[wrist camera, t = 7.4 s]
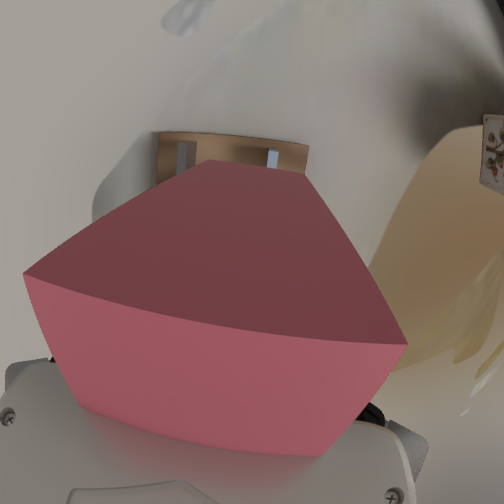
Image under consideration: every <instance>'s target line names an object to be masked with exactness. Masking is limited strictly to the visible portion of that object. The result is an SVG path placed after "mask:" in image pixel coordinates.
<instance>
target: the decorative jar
mask: <svg viewBox="0 0 504 504" xmlns="http://www.w3.org/2000/svg"><path fill="white" fill-rule="evenodd" d="M480 184H482V185H484V186H485V187H487V188H489V189H492V190H493V191H496V192H498V193H500V194H502V195H504V115H494V114H484V115H483V142H482V162H481V173H480Z"/></svg>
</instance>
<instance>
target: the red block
mask: <svg viewBox="0 0 504 504" xmlns="http://www.w3.org/2000/svg"><path fill="white" fill-rule="evenodd" d="M23 277H24V281H25V284H26V288H27V291H28V294H29V297H30V300H31V303H32V306H33V309H34V312H35V315H36V317H37V320H38V322H39V325H40V328H41V330H42V333H43V335H44V337H45V340H46V342H47V344H48V347H49V349H50V351H51V353H52V355H53V357H54V360H55V362H56V364H57V366H58V368H59V370H60V372H61V374H62V375H63V377H64V379H65V381H66V383H67V385H68V387H69V388H70V390H71V392H72V394H73V395H74V397H75V399H76V400H77V402H78V404H79V405H80V406H81V407H83V408H85V409H88V410H90V411H92V412H95V413H97V414H99V415H102V416H105V417H107V418H110V419H112V420H115V421H118V422H120V423H123V424H126V425H129V426H132V427H135V428H138V429H141V430H144V431H148V432H151V433H154V434H158V435H161V436H165V437H169V438H173V439H177V440H181V441H185V442H190V443H195V444H199V445H204V446H210V447H215V448H221V449H228V450H234V451H242V452H251V453H261V454H274V455H292V456H322V455H323V454H324V453H325V452H326V451H327V450H328V449H329V448H330V447H331V446H332V445H333V444H334V443H335V441H336V440H337V439H338V438H339V437H340V436H341V435H342V434H343V433H344V432H345V431H346V429H347V428H348V427H349V426H350V425H351V424H352V422H353V421H354V420H355V419H356V418H357V417H358V415H359V414H360V413H361V412H362V410H363V409H364V408H365V407H366V405H367V404H368V403H369V402H370V400H371V399H372V398H373V396H374V395H375V394H376V392H377V391H378V390H379V388H380V387H381V386H382V384H383V383H384V381H385V380H386V378H387V377H388V376H389V374H390V373H391V371H392V370H393V368H394V367H395V365H396V364H397V362H398V361H399V359H400V358H401V356H402V354H403V353H404V351H405V350H406V348H407V346H408V343H407V341H406V339H405V337H404V335H403V333H402V331H401V329H400V327H399V325H398V323H397V321H396V319H395V317H394V316H393V313H392V312H391V310H390V308H389V306H388V304H387V302H386V300H385V299H384V297H383V295H382V293H381V292H380V290H379V288H378V286H377V284H376V283H375V281H374V279H373V278H372V276H371V274H370V272H369V271H368V269H367V267H366V266H365V264H364V262H363V261H362V259H361V257H360V256H359V254H358V253H357V251H356V249H355V248H354V246H353V245H352V243H351V241H350V240H349V238H348V237H347V235H346V234H345V232H344V231H343V229H342V227H341V226H340V224H339V223H338V221H337V220H336V218H335V217H334V215H333V214H332V213H331V211H330V210H329V208H328V207H327V205H326V204H325V202H324V201H323V199H322V198H321V197H320V195H319V194H318V192H317V191H316V190H315V188H314V187H313V185H312V184H311V183H310V181H309V180H308V178H307V177H306V176H305V174H303V173H297V172H292V171H286V170H280V169H274V168H268V167H262V166H255V165H248V164H241V163H234V162H226V161H217V160H209V159H208V160H206V161H204V162H202V163H200V164H198V165H196V166H194V167H192V168H189V169H187V170H185V171H183V172H181V173H179V174H177V175H175V176H174V177H172V178H170V179H168V180H166V181H164V182H162V183H160V184H158V185H156V186H155V187H153V188H151V189H149V190H147V191H145V192H144V193H142V194H140V195H138V196H137V197H135V198H133V199H131V200H130V201H128V202H126V203H124V204H123V205H121V206H119V207H118V208H116V209H114V210H113V211H111V212H109V213H108V214H106V215H105V216H103V217H101V218H100V219H98V220H97V221H95V222H94V223H92V224H90V225H89V226H87V227H86V228H84V229H83V230H82V231H80V232H78V233H77V234H75V235H74V236H72V237H71V238H70V239H68V240H67V241H65V242H64V243H62V244H61V245H60V246H58V247H57V248H55V249H54V250H53V251H51V252H50V253H49V254H47V255H46V256H44V257H43V258H42V259H41V260H39V261H38V262H37V263H35V264H34V265H33V266H32V267H30V268H29V269H28V270H26V271H25V272H24V273H23Z"/></svg>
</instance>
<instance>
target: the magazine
mask: <svg viewBox="0 0 504 504" xmlns="http://www.w3.org/2000/svg"><path fill="white" fill-rule="evenodd" d="M498 1H499V4H500V7H501V10H502V12H503V15H504V0H498Z"/></svg>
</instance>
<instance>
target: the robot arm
mask: <svg viewBox="0 0 504 504" xmlns="http://www.w3.org/2000/svg"><path fill="white" fill-rule="evenodd" d="M428 447H429V446H428V442H427V441H426V439H425V438H423V437H422V436H420V435H418V434H416V433H415V432H413V431H411V430H409V429H407V428H405V427H403V426H401V425H399V424H398V423H396V422H394V421H392V420H390V421H389V422H388V421H386V420H385V418H384V414H383V413H382V411H381V410H380V409H378V408H377V407H376V406H374V405H373V404H372V403H370V402H369V403H368V404H367V405H366V407H365V408H364V409H363V410H362V412H361V413H360V414H359V415H358V417H357V418H356V419H355V420H354V421H353V422H352V424H351V425H350V426H349V427H348V428H347V429H346V431H345V432H344V433H343V434H342V435H341V436H340V437H339V438H338V439H337V440H336V441H335V443H334V444H333V445H332V446H331V447H330V448H329V449H328V450H327V451H326V452H325V453H324V454H323V455H322V456H292V455H274V454H261V453H251V452H242V451H234V450H228V449H221V448H215V447H210V446H204V445H199V444H195V443H190V442H185V441H181V440H177V439H173V438H169V437H165V436H161V435H158V434H154V433H151V432H148V431H144V430H141V429H138V428H135V427H132V426H129V425H126V424H123V423H120V422H118V421H115V420H112V419H110V418H107V417H105V416H102V415H99V414H97V413H95V412H92V411H90V410H88V409H85V408H83V407H81V406H80V405H79V404H78V402H77V400H76V399H75V397H74V395H73V394H72V392H71V390H70V388H69V387H68V385H67V383H66V381H65V379H64V377H63V375H62V374H61V372H60V370H59V368H58V366H57V364H56V362H55V360H54V357H52V358H51V360H48V358H42V359H36V360H29V361H23V362H17V363H13V364H11V365H10V366H8V368H7V369H6V373H5V392H4V394H3V395H2V397H1V398H0V504H417V501H416V494H415V487H414V483H415V481H416V478H417V476H418V474H419V472H420V470H421V467H422V465H423V462H424V460H425V458H426V455H427V453H428Z"/></svg>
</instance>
